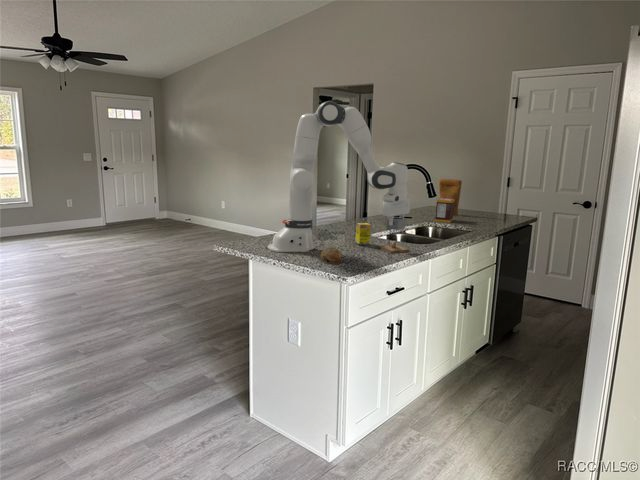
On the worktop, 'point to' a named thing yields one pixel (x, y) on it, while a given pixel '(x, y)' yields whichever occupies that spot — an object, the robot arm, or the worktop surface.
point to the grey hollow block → (396, 223)
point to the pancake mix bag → (450, 191)
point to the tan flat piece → (393, 248)
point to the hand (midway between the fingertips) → (395, 224)
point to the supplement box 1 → (363, 234)
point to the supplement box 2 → (445, 210)
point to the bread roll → (331, 256)
